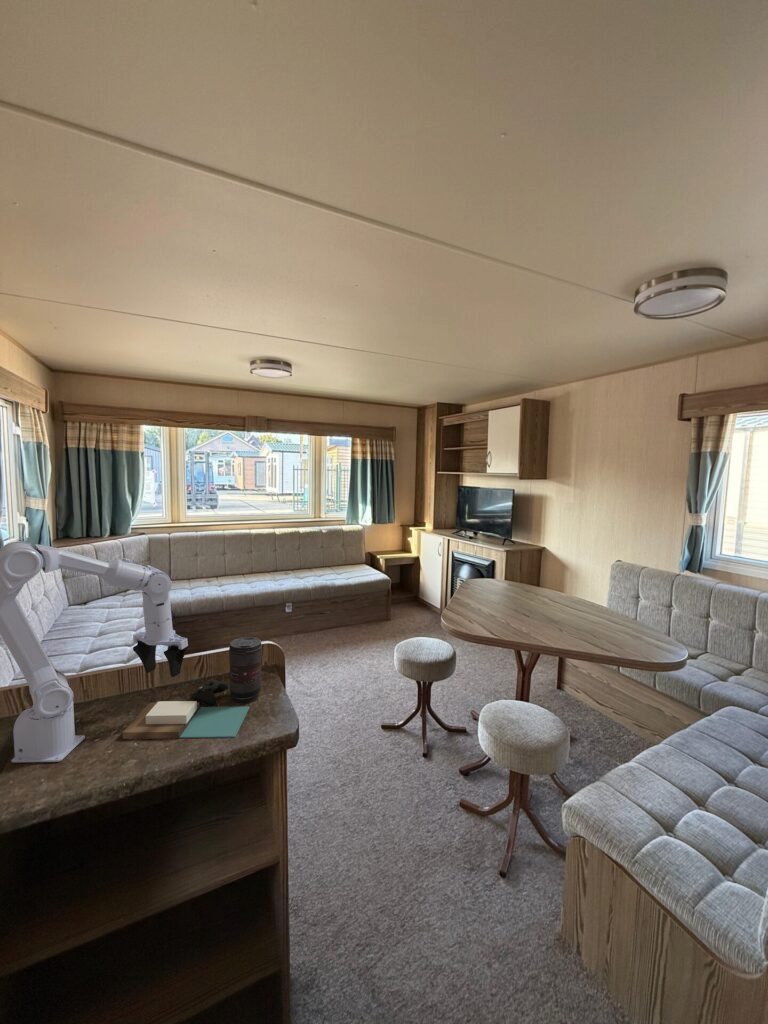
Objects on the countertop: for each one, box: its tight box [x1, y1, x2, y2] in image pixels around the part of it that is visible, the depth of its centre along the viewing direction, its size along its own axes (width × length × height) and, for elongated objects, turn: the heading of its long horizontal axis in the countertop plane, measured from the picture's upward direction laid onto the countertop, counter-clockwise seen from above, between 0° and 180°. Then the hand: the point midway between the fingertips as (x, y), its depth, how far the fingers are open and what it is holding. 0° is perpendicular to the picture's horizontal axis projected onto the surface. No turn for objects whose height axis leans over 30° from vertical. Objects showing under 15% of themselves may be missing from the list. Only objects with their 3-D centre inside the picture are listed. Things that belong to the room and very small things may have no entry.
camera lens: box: [228, 636, 263, 705], centre depth 109 cm, size 8×8×15 cm
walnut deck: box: [121, 702, 201, 740], centre depth 98 cm, size 12×12×2 cm
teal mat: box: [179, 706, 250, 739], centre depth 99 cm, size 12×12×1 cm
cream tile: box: [146, 700, 197, 724], centre depth 98 cm, size 9×6×2 cm, turn 93°
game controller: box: [192, 680, 229, 707], centre depth 110 cm, size 10×5×6 cm
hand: (163, 672), depth 102 cm, fingers open, 7 cm apart
